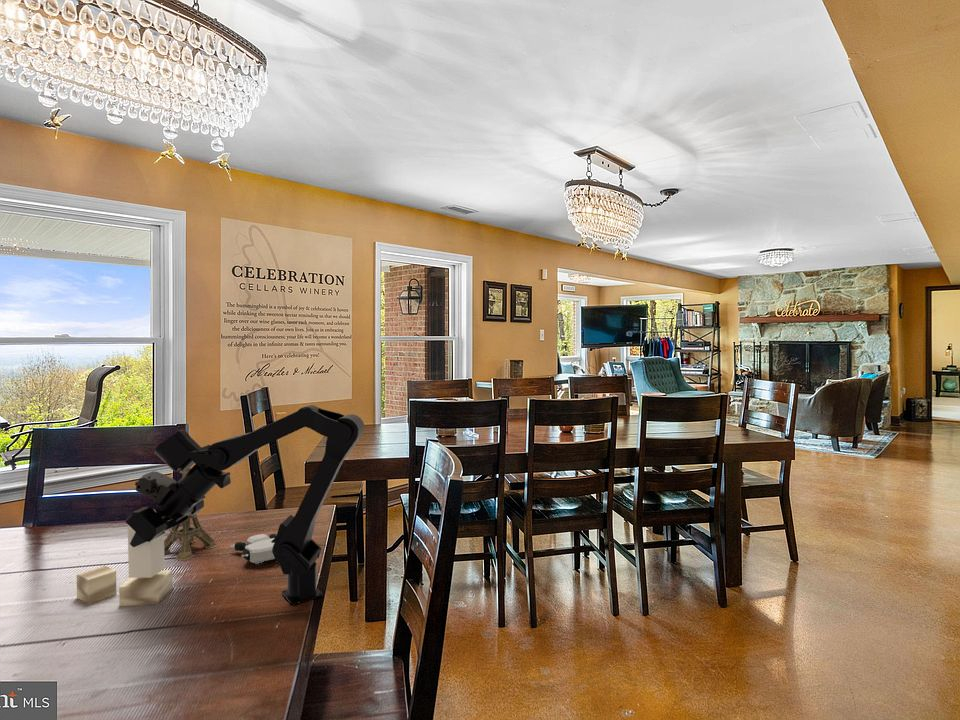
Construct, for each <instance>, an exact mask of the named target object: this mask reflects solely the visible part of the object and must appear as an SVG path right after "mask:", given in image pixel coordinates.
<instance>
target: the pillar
mask: <svg viewBox="0 0 960 720" xmlns="http://www.w3.org/2000/svg"><path fill="white" fill-rule="evenodd" d="M135 533H136V532H135V531H134V530H133V529H132V528H131V527H130V526H129V525H128V524H127V546H128V547H127V554H128V579H129V578H151V577H153V576H154V575H156V574H157V573H158V572H160V571H163V570H164V569H165V568H166V567H165V561H166V560H165V555H164V540H165V533H164V534H162V535H161V536H159V537H157V538H155V539H153V540H152V541H150V542H145V543H143V544H140V545H138V546H136V547H132V546H131V545H130V542H131V540H132V538H133V536H134V534H135Z"/></svg>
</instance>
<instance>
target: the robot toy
mask: <svg viewBox="0 0 960 720" xmlns="http://www.w3.org/2000/svg"><path fill="white" fill-rule="evenodd" d="M276 535H277V533H271V534H270V535H269V536H268V535H267V534H266V533H261V534H255V535H252V536H249V537H248V538H247V540H246V542H242V541H240V542H239V541H238V542H236V543H234V544H231V545H230V548H231V549H234V551H238V552H242V553H241V555H240V556H241V558H243V559H245V560H246V561H249V562H250V563H253V564H254V563H255V565H260V564H259V563H261V564H263V563H262V562H264V561H265V562H266V561H272V560H276V559H275V557H274V555H273V553H272V548H273V545H274V543H271V541H272V540H273V539H274V538H275V537H276ZM265 562H264V563H265Z"/></svg>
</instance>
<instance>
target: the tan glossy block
mask: <svg viewBox="0 0 960 720" xmlns="http://www.w3.org/2000/svg"><path fill="white" fill-rule="evenodd" d="M172 588H173V569H168V570H167V569H166V570H164V569H163V570H161V571H160V572H158V573H157V574H156V575H154V576H153V577H151V578H129V577H128V579H126V581H124V582H123V583H122V584H121V585H120V586H119V587H118V594H119V595H118V600H119V601H118V602H119V605H118V606H119V607H126V606H139V605H140V606H141V605H153V604H159V603H160V602H161V600H162V599H164V597H165V596H166V595H167V594H168V593H169V592H170V591H171V590H172Z"/></svg>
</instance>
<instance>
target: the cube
mask: <svg viewBox="0 0 960 720" xmlns="http://www.w3.org/2000/svg"><path fill="white" fill-rule="evenodd" d="M115 595H117V570H115V569H113V568H111V567H108V566H107V565H102V566H99V567H95V568H91V569H89V570H85V571H83V572H79V573H77V574H76V599H78V600H79V599H80V600H79V601H81V600H82V602H83V601H84V602H83V603H85V604H87V605H90V604H94V603H97V602H99V601H101V600H104V599H107V598H110V597H113V596H115Z"/></svg>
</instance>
